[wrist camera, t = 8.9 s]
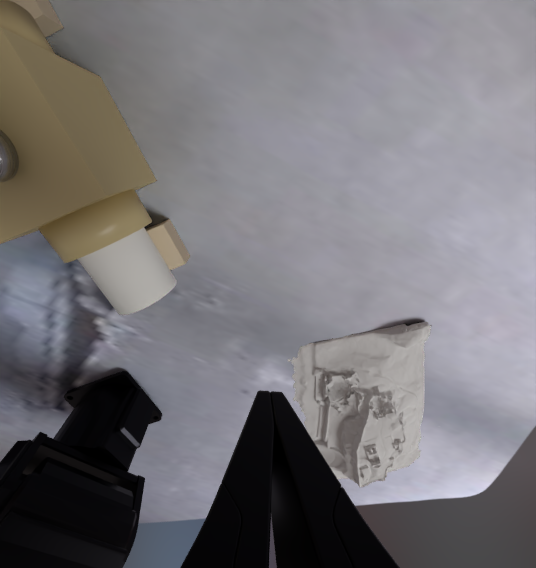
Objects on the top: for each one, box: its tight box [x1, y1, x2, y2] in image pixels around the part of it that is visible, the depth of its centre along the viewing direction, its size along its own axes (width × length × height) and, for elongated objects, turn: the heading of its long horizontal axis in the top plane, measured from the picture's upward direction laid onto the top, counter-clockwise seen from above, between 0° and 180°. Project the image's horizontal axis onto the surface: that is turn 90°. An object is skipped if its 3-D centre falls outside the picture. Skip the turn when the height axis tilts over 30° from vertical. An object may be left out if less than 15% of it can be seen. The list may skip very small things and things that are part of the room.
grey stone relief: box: [288, 322, 432, 488], centre depth 28 cm, size 17×23×5 cm
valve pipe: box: [0, 0, 190, 315], centre depth 14 cm, size 6×18×7 cm, turn 21°
